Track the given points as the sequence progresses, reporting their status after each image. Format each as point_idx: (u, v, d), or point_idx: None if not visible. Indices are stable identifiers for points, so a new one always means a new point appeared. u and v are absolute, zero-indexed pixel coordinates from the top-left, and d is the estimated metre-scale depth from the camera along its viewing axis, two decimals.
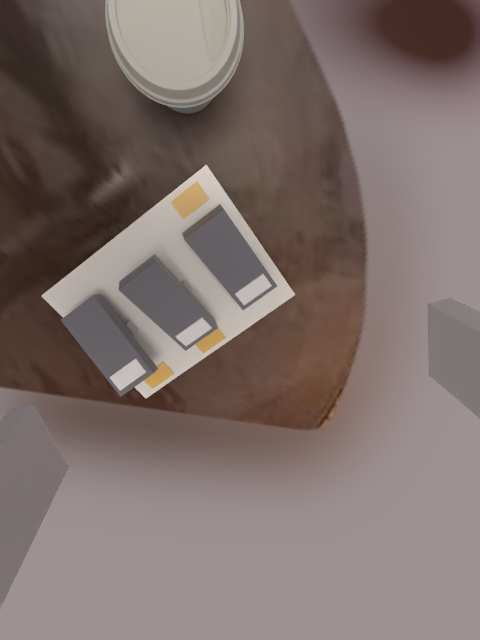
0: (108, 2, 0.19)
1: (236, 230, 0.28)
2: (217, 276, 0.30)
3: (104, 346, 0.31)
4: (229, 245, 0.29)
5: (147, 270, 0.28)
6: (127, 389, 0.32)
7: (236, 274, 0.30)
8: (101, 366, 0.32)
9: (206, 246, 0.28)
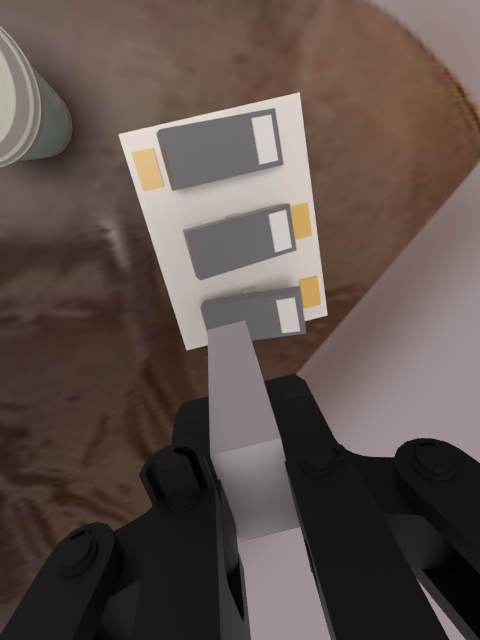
0: None
1: (188, 126, 0.24)
2: (231, 174, 0.26)
3: (251, 322, 0.31)
4: (202, 142, 0.25)
5: (192, 243, 0.26)
6: (302, 323, 0.30)
7: (237, 151, 0.26)
8: (268, 334, 0.31)
9: (192, 169, 0.25)
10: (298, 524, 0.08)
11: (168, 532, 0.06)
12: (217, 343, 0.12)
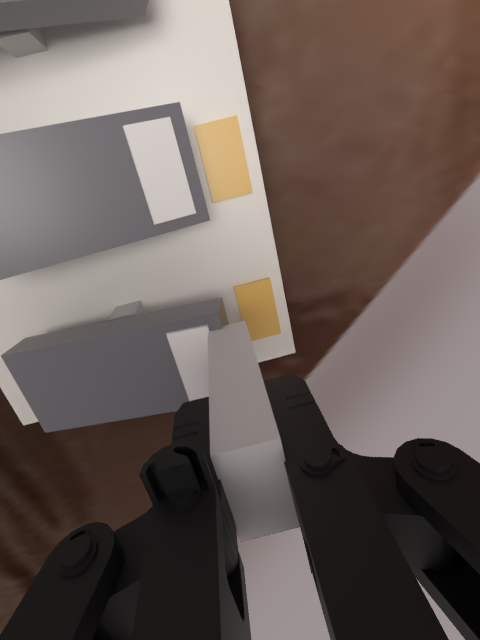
0: None
1: None
2: None
3: (120, 382, 0.14)
4: None
5: None
6: None
7: None
8: (162, 406, 0.14)
9: None
10: (298, 524, 0.08)
11: (168, 532, 0.06)
12: (217, 343, 0.12)
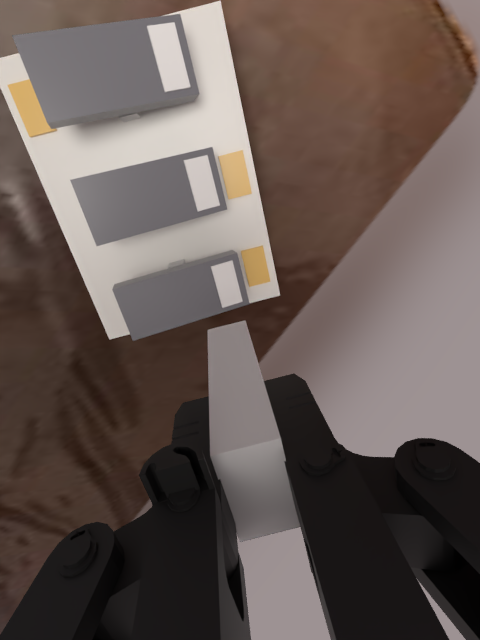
0: None
1: (55, 33, 0.18)
2: (125, 104, 0.20)
3: (183, 300, 0.24)
4: (79, 58, 0.18)
5: (80, 197, 0.20)
6: (244, 292, 0.25)
7: (131, 73, 0.20)
8: (206, 312, 0.25)
9: (68, 95, 0.19)
10: (298, 524, 0.08)
11: (168, 532, 0.06)
12: (217, 343, 0.12)
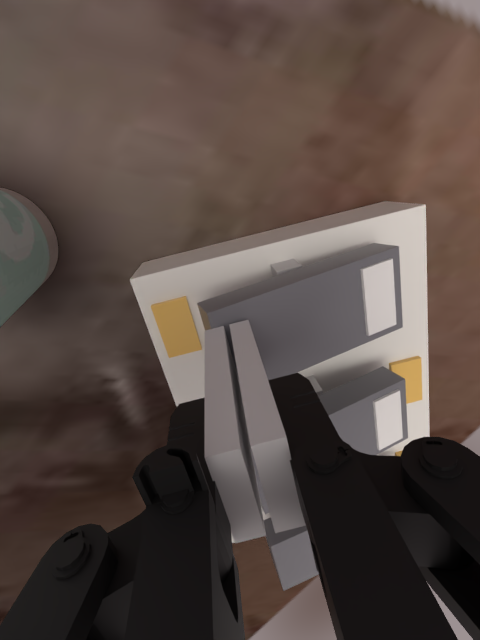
0: None
1: (257, 299, 0.13)
2: (322, 358, 0.15)
3: None
4: (279, 320, 0.14)
5: (256, 468, 0.16)
6: None
7: (335, 322, 0.15)
8: None
9: None
10: (303, 523, 0.08)
11: (162, 534, 0.06)
12: (213, 344, 0.12)
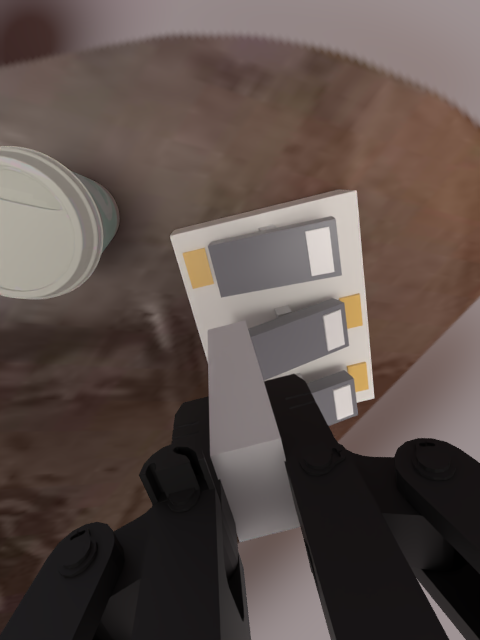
0: None
1: (235, 242, 0.24)
2: (278, 284, 0.25)
3: None
4: (249, 256, 0.24)
5: None
6: (355, 406, 0.31)
7: (287, 263, 0.24)
8: None
9: (238, 280, 0.25)
10: (298, 524, 0.08)
11: (168, 532, 0.06)
12: (217, 343, 0.12)
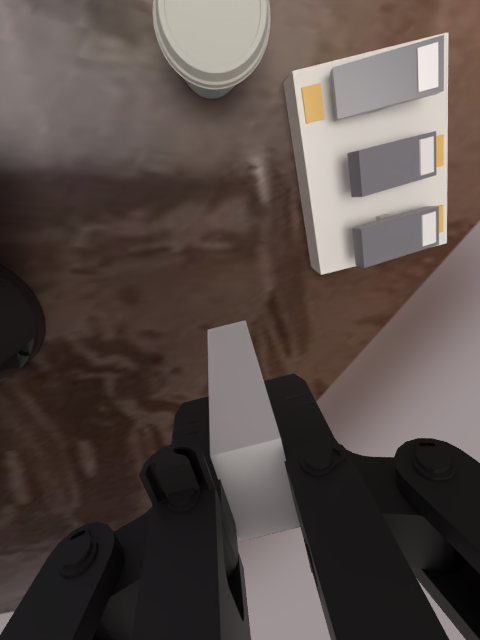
0: (189, 63, 0.24)
1: (357, 62, 0.29)
2: (388, 103, 0.30)
3: (400, 239, 0.35)
4: (367, 75, 0.30)
5: (361, 162, 0.31)
6: (437, 235, 0.36)
7: (398, 81, 0.29)
8: (411, 249, 0.36)
9: (354, 100, 0.30)
10: (298, 524, 0.08)
11: (168, 532, 0.06)
12: (217, 343, 0.12)
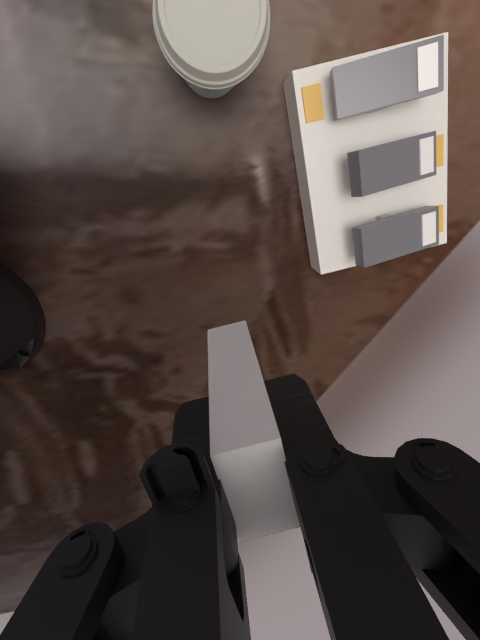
0: (188, 63, 0.24)
1: (356, 62, 0.29)
2: (388, 102, 0.30)
3: (400, 239, 0.35)
4: (367, 75, 0.30)
5: (361, 162, 0.31)
6: (437, 235, 0.36)
7: (398, 81, 0.29)
8: (411, 249, 0.36)
9: (354, 100, 0.30)
10: (298, 524, 0.08)
11: (168, 532, 0.06)
12: (217, 343, 0.12)
